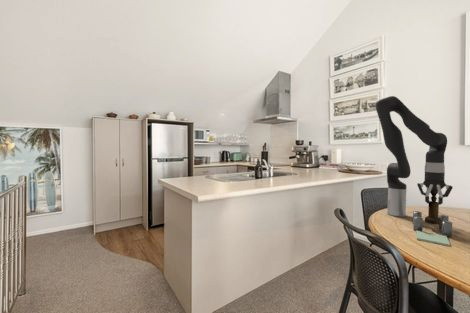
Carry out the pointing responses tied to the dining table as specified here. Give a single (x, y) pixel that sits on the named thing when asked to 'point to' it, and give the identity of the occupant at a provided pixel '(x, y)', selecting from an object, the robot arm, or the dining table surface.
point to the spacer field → (445, 225)
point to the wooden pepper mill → (433, 210)
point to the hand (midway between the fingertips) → (433, 203)
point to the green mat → (432, 238)
